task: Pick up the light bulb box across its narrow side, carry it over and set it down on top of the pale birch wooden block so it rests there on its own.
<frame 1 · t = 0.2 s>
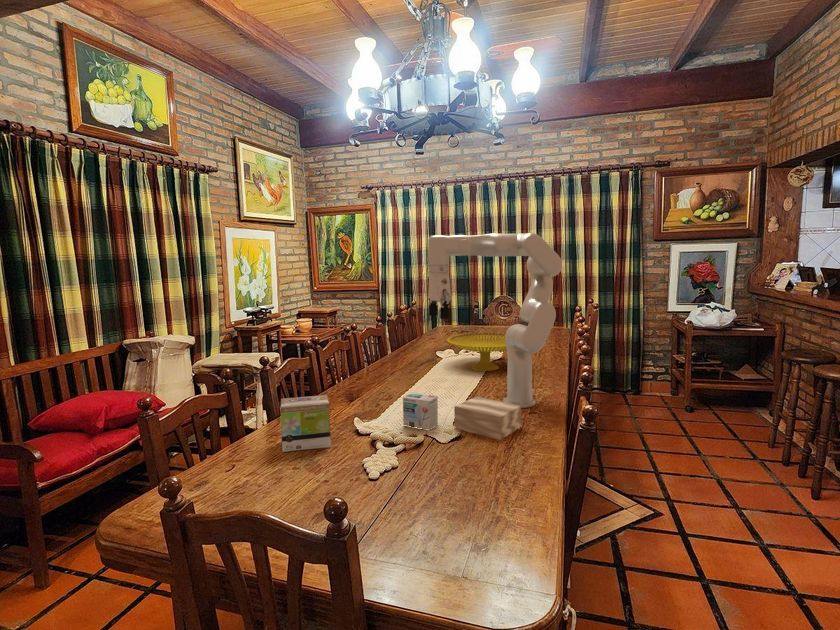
hand: (438, 316, 173), 37 cm above the table, tool pointing down, fingers open, 9 cm apart
birch block: (487, 428, 164), on the table
light bulb box: (420, 426, 167), on the table
cake stand: (485, 367, 247), on the table
tea box: (306, 445, 152), on the table
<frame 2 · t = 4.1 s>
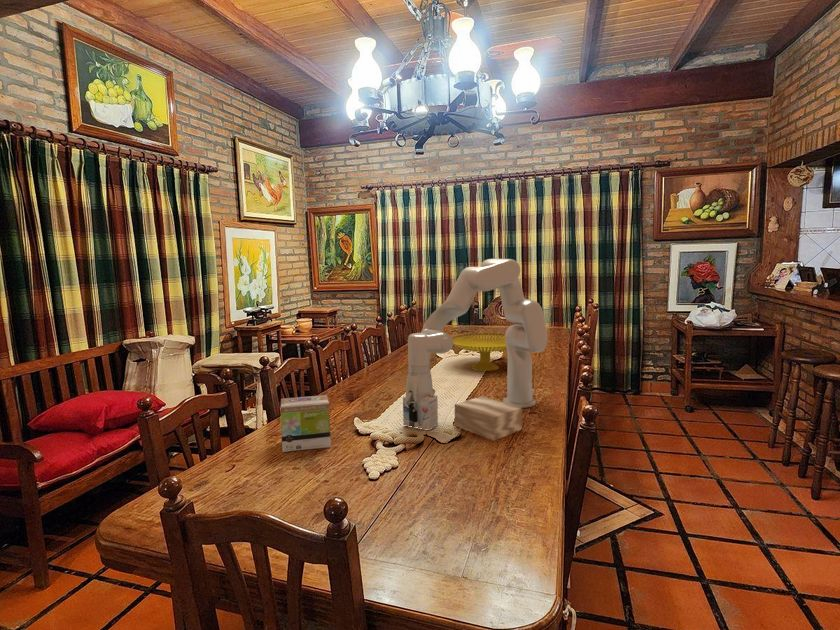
hand: (420, 417, 166), 3 cm above the table, tool pointing down, fingers closed on light bulb box, 7 cm apart
light bulb box: (420, 426, 167), on the table, touching gripper
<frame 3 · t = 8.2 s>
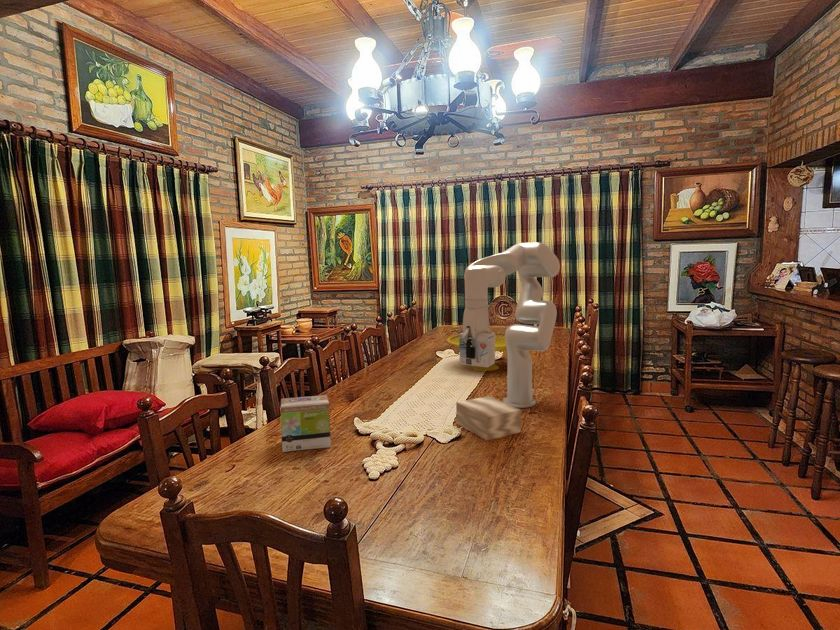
hand: (477, 355, 161), 25 cm above the table, tool pointing down, fingers closed on light bulb box, 7 cm apart
light bulb box: (477, 364, 161), point 22 cm above the table, touching gripper
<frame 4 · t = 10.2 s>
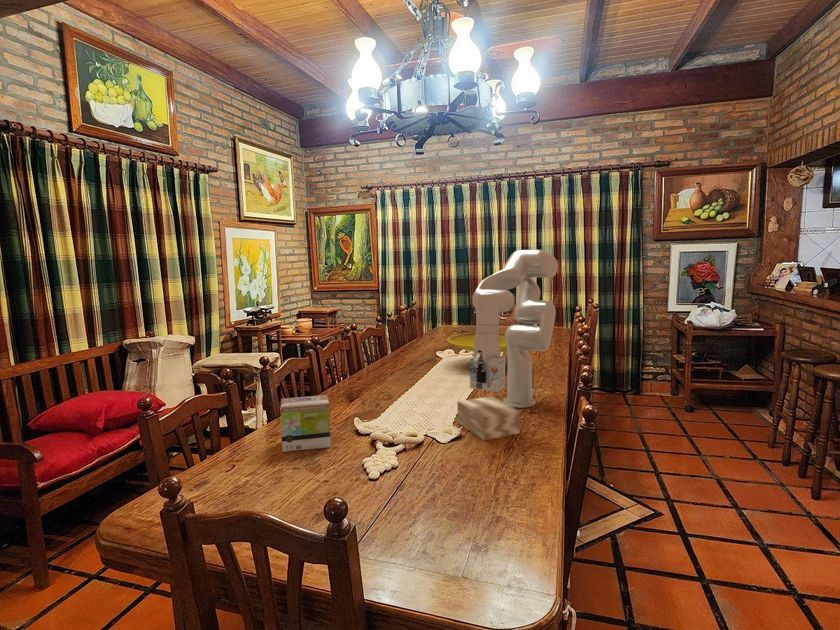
hand: (487, 379, 161), 17 cm above the table, tool pointing down, fingers closed on light bulb box, 7 cm apart
light bulb box: (487, 388, 162), point 14 cm above the table, touching gripper
when the fingers open (12 cm above the table, at t = 12.1 s): light bulb box drops 2 cm, resting on birch block.
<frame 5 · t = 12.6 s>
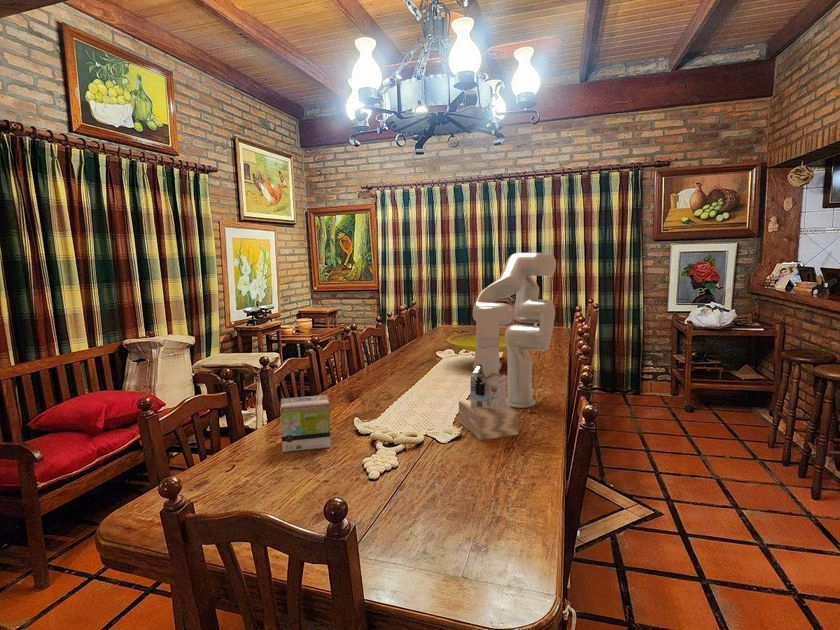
hand: (487, 391, 162), 13 cm above the table, tool pointing down, fingers open, 9 cm apart
birch block: (487, 428, 164), on the table, touching light bulb box
light bulb box: (488, 406, 163), point 7 cm above the table, touching birch block
everything else where it was.
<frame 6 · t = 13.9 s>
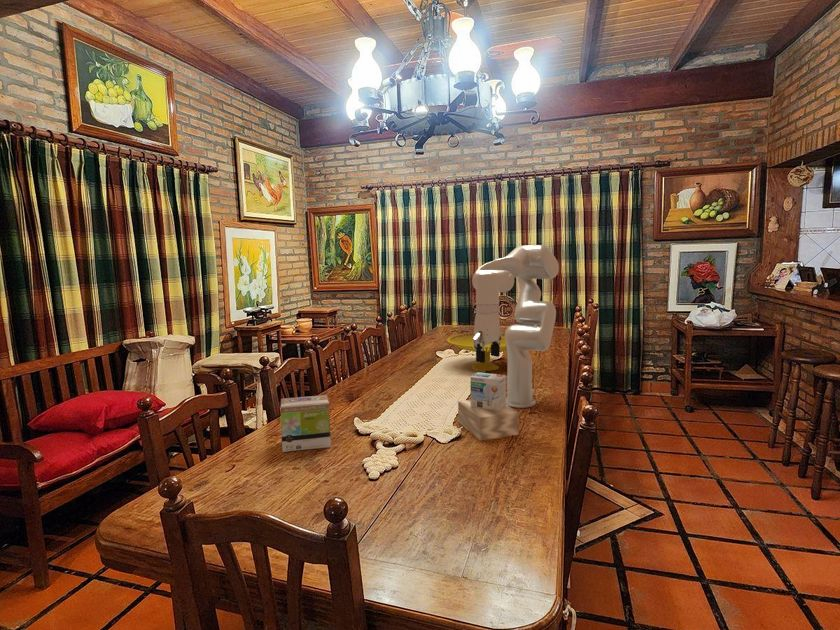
hand: (488, 359, 161), 24 cm above the table, tool pointing down, fingers open, 9 cm apart
nothing on the table moved.
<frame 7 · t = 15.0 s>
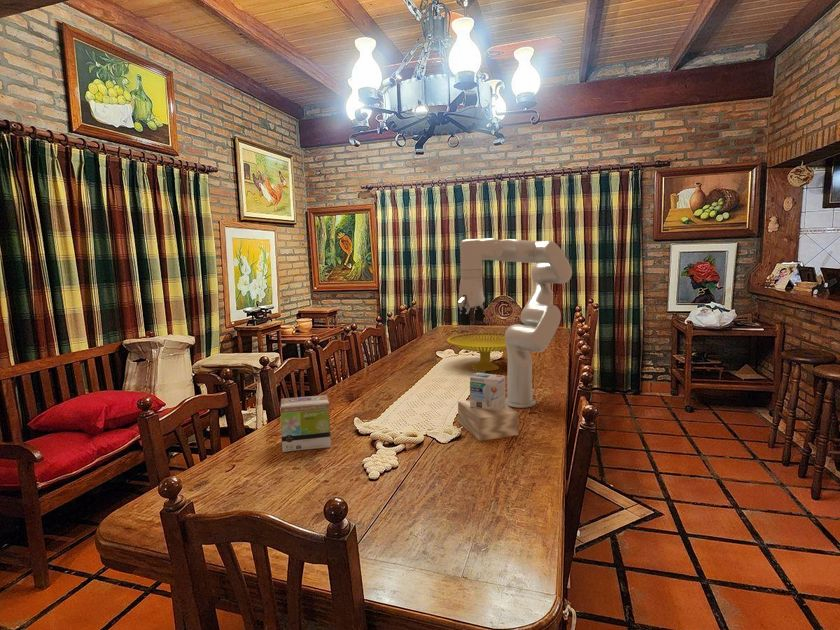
hand: (472, 322, 169), 35 cm above the table, tool pointing down, fingers open, 9 cm apart
birch block: (487, 429, 163), on the table
light bulb box: (487, 407, 162), point 7 cm above the table
everything else where it was.
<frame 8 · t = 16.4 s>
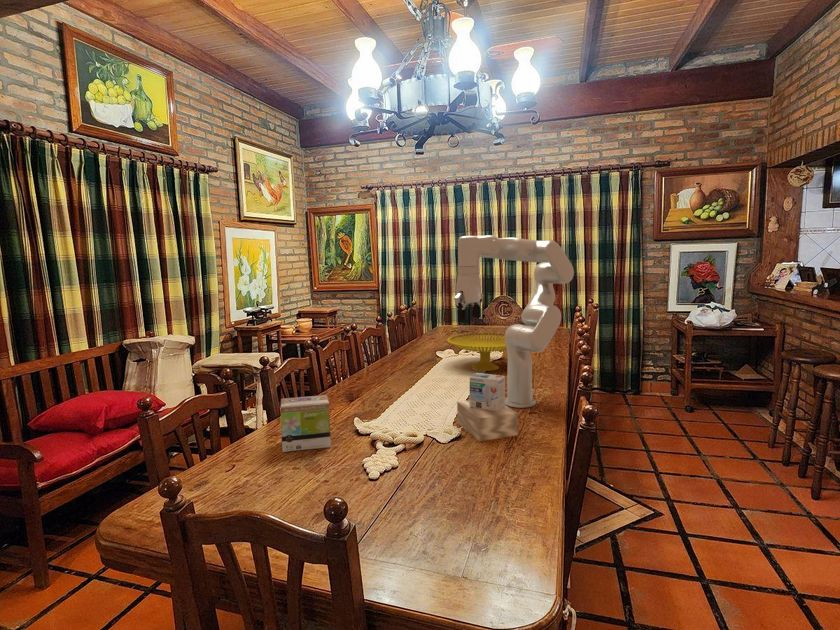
hand: (469, 319, 170), 36 cm above the table, tool pointing down, fingers open, 9 cm apart
nothing on the table moved.
at the end: light bulb box inside the target area on the birch block (0.4 cm from its centre), point 7.8 cm above the birch block's base; light bulb box tilted 0°; the gripper is holding nothing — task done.
